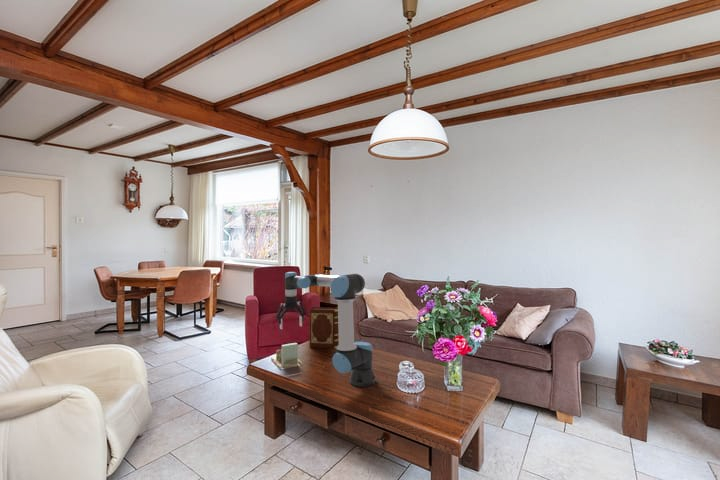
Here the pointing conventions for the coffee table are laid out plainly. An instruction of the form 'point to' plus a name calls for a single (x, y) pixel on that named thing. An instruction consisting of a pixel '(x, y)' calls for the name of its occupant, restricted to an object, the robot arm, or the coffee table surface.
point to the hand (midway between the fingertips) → (291, 327)
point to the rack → (287, 363)
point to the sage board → (289, 353)
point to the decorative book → (324, 327)
